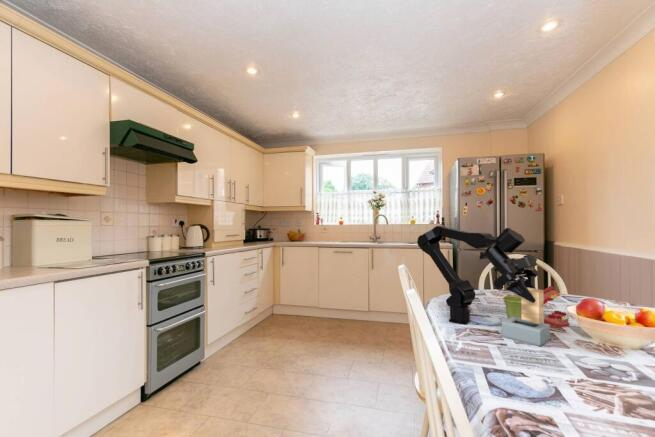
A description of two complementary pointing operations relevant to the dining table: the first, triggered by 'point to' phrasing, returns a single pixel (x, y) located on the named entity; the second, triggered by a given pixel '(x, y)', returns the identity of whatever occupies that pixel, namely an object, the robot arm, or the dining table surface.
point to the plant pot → (513, 306)
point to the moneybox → (526, 331)
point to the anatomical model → (557, 317)
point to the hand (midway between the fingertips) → (537, 300)
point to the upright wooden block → (533, 307)
